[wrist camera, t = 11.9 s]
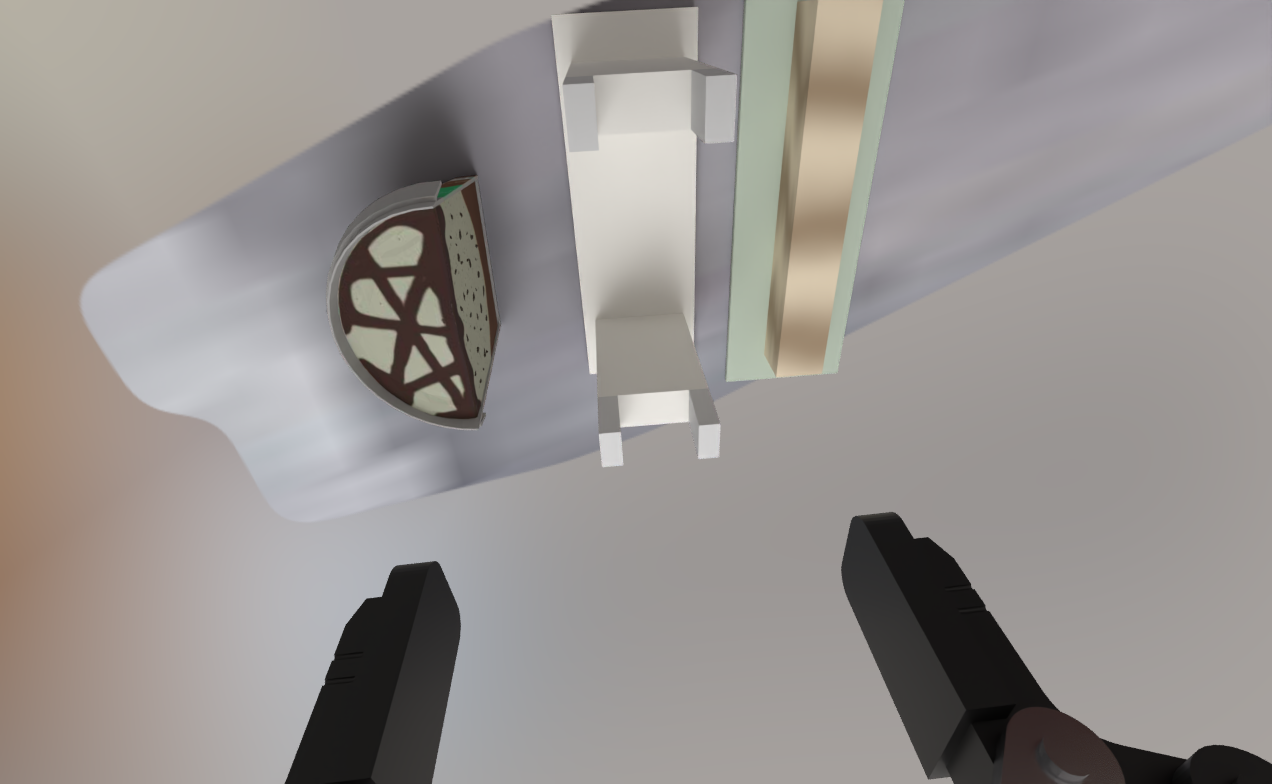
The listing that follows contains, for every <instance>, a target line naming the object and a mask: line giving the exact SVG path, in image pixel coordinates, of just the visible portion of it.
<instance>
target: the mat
mask: <svg viewBox="0 0 1272 784" xmlns="http://www.w3.org/2000/svg"><path fill="white" fill-rule="evenodd" d="M798 1H807V0H744V16H743V36H742V56H741V76H740V96H739V116H738V135H737V155H736V175H735V195H734V215H733V235H732V254H731V274H730V294H729V314H728V334H727V354H726V373H725V380H726V382H730V381H743V380H755V379H768V378H779V377H776V376H775V374H774V372H773V370H772V369H771V367H770V365H769V363H768V361H767V359H766V357H765V355H764V349H765V338H766V328H767V317H768V306H769V296H770V285H771V275H772V264H773V253H774V243H775V232H776V222H777V211H778V200H779V190H780V179H781V169H782V158H783V147H784V137H785V126H786V116H787V105H788V94H789V84H790V73H791V63H792V52H793V41H794V31H795V20H796V10H797V2H798ZM904 1H905V0H883V5H882V11H881V17H880V23H879V29H878V36H877V42H876V48H875V54H874V60H873V66H872V72H871V78H870V84H869V90H868V96H867V103H866V109H865V115H864V121H863V127H862V133H861V139H860V145H859V151H858V157H857V163H856V170H855V176H854V182H853V188H852V194H851V200H850V206H849V212H848V218H847V224H846V230H845V237H844V243H843V249H842V255H841V261H840V267H839V273H838V279H837V285H836V291H835V298H834V304H833V310H832V316H831V322H830V328H829V334H828V340H827V346H826V352H825V358H824V365H823V371H822V374H830V373H837V372H838V366H839V360H840V355H841V350H842V344H843V339H844V333H845V328H846V322H847V317H848V311H849V306H850V300H851V295H852V289H853V283H854V278H855V272H856V267H857V261H858V256H859V250H860V245H861V239H862V234H863V228H864V223H865V217H866V212H867V206H868V200H869V195H870V189H871V184H872V178H873V173H874V167H875V162H876V156H877V151H878V145H879V140H880V134H881V129H882V123H883V117H884V112H885V106H886V101H887V95H888V90H889V84H890V79H891V73H892V68H893V62H894V57H895V51H896V46H897V40H898V34H899V29H900V23H901V18H902V12H903V7H904ZM813 375H818V374H813ZM801 376H805V375H801ZM788 377H792V376H788Z"/></svg>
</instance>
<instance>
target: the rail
mask: <svg viewBox="0 0 1272 784" xmlns="http://www.w3.org/2000/svg"><path fill="white" fill-rule="evenodd" d="M882 5H883V0H807V1H798V2H797V10H796V20H795V31H794V41H793V52H792V63H791V73H790V84H789V94H788V105H787V116H786V126H785V137H784V147H783V158H782V169H781V179H780V190H779V200H778V211H777V222H776V232H775V243H774V253H773V264H772V275H771V285H770V296H769V306H768V317H767V328H766V338H765V349H764V355H765V357H766V359H767V361H768V363H769V365H770V367H771V369H772V370H773V372H774V374H775V376H776V377H788V376H801V375H813V374H822V371H823V365H824V358H825V352H826V346H827V340H828V334H829V328H830V322H831V316H832V310H833V304H834V298H835V291H836V285H837V279H838V273H839V267H840V261H841V255H842V249H843V243H844V237H845V230H846V224H847V218H848V212H849V206H850V200H851V194H852V188H853V182H854V176H855V170H856V163H857V157H858V151H859V145H860V139H861V133H862V127H863V121H864V115H865V109H866V103H867V96H868V90H869V84H870V78H871V72H872V66H873V60H874V54H875V48H876V42H877V36H878V29H879V23H880V17H881V11H882Z"/></svg>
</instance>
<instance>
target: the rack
mask: <svg viewBox="0 0 1272 784" xmlns="http://www.w3.org/2000/svg"><path fill="white" fill-rule="evenodd" d="M551 17H552V26H553V35H554V45H555V54H556V63H557V73H558V82H559V91H560V101H561V110H562V119H563V128H564V138H565V147H566V156H567V166H568V175H569V184H570V193H571V203H572V212H573V221H574V231H575V240H576V249H577V258H578V268H579V277H580V286H581V296H582V305H583V314H584V323H585V333H586V342H587V351H588V361H589V370H590V374H597V392H598V424H599V440H600V450H601V460H602V467H609V466H621V465H623V456H622V443H621V430H620V427H631V426H643V425H655V424H668V423H680V422H689V425H690V429H691V433H692V437H693V441H694V444H695V448H696V452H697V456H698V459H704V458H716V457H719V446H720V425H721V424H720V421H719V418H718V415H717V412H716V409H715V406H714V403H713V400H712V397H711V394H710V391H709V388H708V385H707V382H706V379H705V376H704V373H703V370H702V367H701V364H700V361H699V358H698V355H697V352H696V349H695V346H694V291H695V214H696V138H697V136H698V137H699V138H700V139H701V140H702V141H703V142H704V143H705V144H708V143H723V142H734V129H735V108H736V87H737V74H734V73H731V72H728V71H725V70H722V69H719V68H716V67H713V66H711V65H708V64H705V63H702V62H699V61H698V7H685V8H667V9H648V10H630V11H611V12H593V13H575V14H556V15H551Z"/></svg>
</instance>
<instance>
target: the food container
mask: <svg viewBox="0 0 1272 784" xmlns="http://www.w3.org/2000/svg"><path fill="white" fill-rule="evenodd" d="M326 303H327V314H328V320H329V323H330V327H331V331H332V335H333V338H334V341H335V343H336V345H337V347H338V350H339V352H340V354H341V356H342V357H343V359H344V360H345V362H346V364H347V365H348V367H349V368H350V370H351V371H352V372H353V373H354V375H355V376H356V377H357V378H358V379H359V380H360V382H361V383H362V384H363V385H364V386H365V387H366V388H368V389H369V390H370V391H371V392H372V393H373V394H374V395H375V396H376V397H378V398H379V399H381V400H382V401H384V402H385V403H386V404H388V405H389V406H391V407H392V408H394V409H396V410H398V411H400V412H402V413H404V414H405V415H407V416H409V417H412V418H415V419H417V420H420V421H422V422H425V423H428V424H432V425H436V426H440V427H444V428H451V429H459V430H479V427H481V426H482V424H483V421H484V419H485V417H486V413H483V409H484V404H485V399H486V394H487V389H488V384H489V380H490V375H491V370H492V365H493V360H494V355H495V351H496V346H497V341H498V336H499V331H500V326H501V324H500V317H499V311H498V305H497V298H496V292H495V285H494V279H493V273H492V266H491V260H490V253H489V247H488V241H487V234H486V228H485V222H484V215H483V209H482V202H481V196H480V190H479V183H478V177H477V175H472V176H463V177H456V178H454V179H452V180H449V181H447V182H445V183H443V184H442V182H441V180H440V181H432V182H423V183H417V184H414V185H410V186H407V187H403V188H400V189H397V190H395V191H393V192H391V193H389V194H387V195H385V196H383V197H381V198H379V199H377V200H376V201H375V202H373V203H372V204H371V205H369V206H368V207H367V208H365V209H364V210H363V211H362V212H361V213H360V214H359V215H358V216H357V217H356V218H355V220H354V221H353V222H352V223H351V224H350V225H349V226H348V228H347V230H346V232H345V233H344V235H343V237H342V239H341V240H340V242H339V244H338V247H337V250H336V253H335V256H334V259H333V261H332V264H331V267H330V270H329V273H328V280H327V288H326Z"/></svg>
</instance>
